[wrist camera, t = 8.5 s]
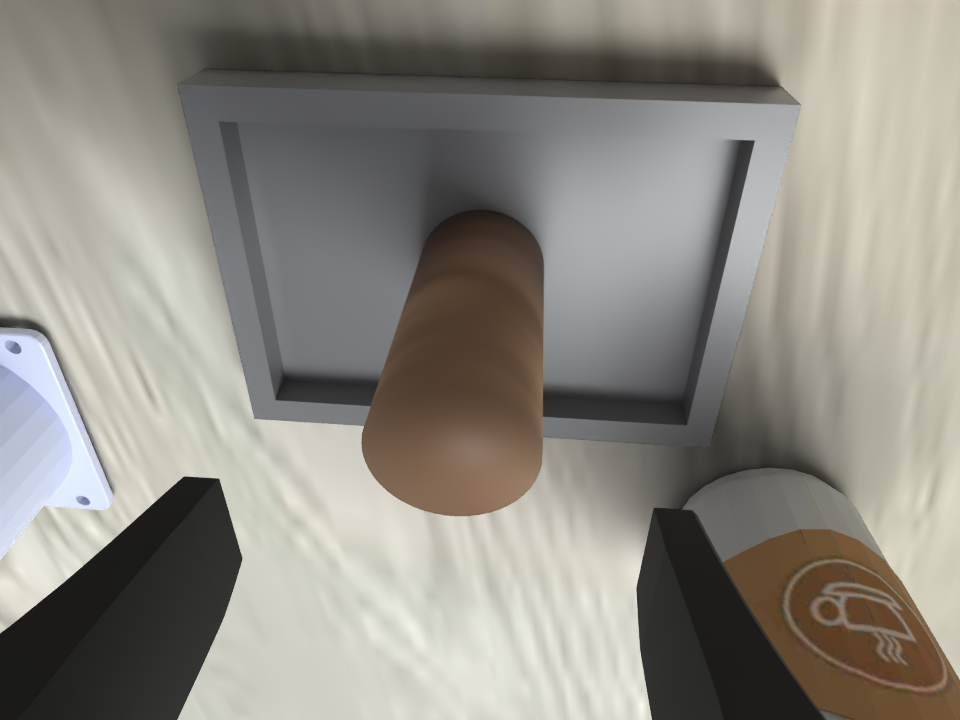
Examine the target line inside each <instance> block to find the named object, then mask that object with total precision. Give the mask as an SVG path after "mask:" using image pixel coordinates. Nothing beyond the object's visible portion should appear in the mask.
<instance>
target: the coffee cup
mask: <svg viewBox="0 0 960 720" xmlns="http://www.w3.org/2000/svg"><path fill="white" fill-rule="evenodd" d="M681 510H693V511H694V512H695V513H696V515H697V516H698V517H699V519H700V521H701V523H702V525H703V527H704V529H705V531H706V533H707V535H708V537H709V539H710V540H711V542H712V544H713V546H714V548H715V550H716V552H717V553H718V555H719V557H720V559H721V560H722V562H723V564H724V566H725V568H726V569H727V571H728V573H729V574H730V576H731V578H732V580H733V581H734V583H735V585H736V586H737V588H738V590H739V591H740V593H741V595H742V596H743V598H744V600H745V601H746V603H747V605H748V606H749V608H750V609H751V611H752V612H753V614H754V616H755V617H756V619H757V620H758V622H759V623H760V625H761V627H762V628H763V630H764V631H765V633H766V634H767V636H768V637H769V639H770V641H771V642H772V644H773V645H774V647H775V648H776V650H777V651H778V653H779V654H780V655H781V657H782V658H783V660H784V661H785V663H786V664H787V666H788V667H789V669H790V670H791V671H792V673H793V674H794V676H795V677H796V678H797V680H798V681H799V683H800V684H801V685H802V687H803V688H804V690H805V691H806V693H807V694H808V695H809V697H810V698H811V699H812V701H813V702H814V703H815V705H816V706H817V707H818V709H819V710H820V712H821V713H822V714H823V716H824V717H825V718H826V719H827V720H960V680H959V678H958V676H957V674H956V673H955V671H954V669H953V668H952V666H951V664H950V663H949V661H948V659H947V658H946V656H945V654H944V652H943V651H942V649H941V647H940V646H939V644H938V642H937V641H936V639H935V637H934V636H933V634H932V632H931V630H930V629H929V627H928V625H927V624H926V622H925V620H924V619H923V617H922V615H921V613H920V612H919V610H918V608H917V607H916V605H915V603H914V602H913V600H912V598H911V597H910V595H909V593H908V591H907V590H906V588H905V586H904V585H903V583H902V582H901V580H900V579H899V578H898V576H897V575H896V574H895V573H894V571H893V570H892V569H891V568H890V566H889V564H888V563H887V561H886V559H885V557H884V556H883V554H882V552H881V551H880V549H879V547H878V545H877V544H876V542H875V540H874V539H873V537H872V535H871V533H870V532H869V530H868V528H867V527H866V525H865V523H864V521H863V520H862V518H861V516H860V514H859V513H858V511H857V509H856V508H855V507H854V506H853V505H852V503H851V502H850V501H849V500H848V499H847V498H846V496H845V495H844V494H842V493H840V492H839V491H837V490H835V489H834V488H832V487H831V486H830V485H828V484H827V483H825V482H823V481H822V480H820V479H818V478H817V477H815V476H813V475H810V474H806V473H803V472H800V471H796V470H793V469H781V468H760V469H750V470H744V471H741V472H737V473H734V474H730V475H726V476H723V477H721V478H719V479H717V480H715V481H713V482H711V483H710V484H708V485H706V486H704V487H703V488H701V489H700V490H699V491H698V492H697V493H695V494H694V495H693V496H692V497H690V498H689V500H688V501H687V502H686V504H685V505H684V507H683V508H682V509H681Z"/></svg>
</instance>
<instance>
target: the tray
mask: <svg viewBox="0 0 960 720" xmlns="http://www.w3.org/2000/svg"><path fill="white" fill-rule="evenodd" d="M178 89H179V93H180V98H181V102H182V106H183V111H184V115H185V119H186V124H187V128H188V132H189V137H190V141H191V145H192V150H193V154H194V158H195V163H196V167H197V171H198V176H199V180H200V184H201V189H202V193H203V197H204V202H205V206H206V210H207V215H208V219H209V223H210V228H211V232H212V236H213V241H214V245H215V249H216V254H217V258H218V262H219V267H220V271H221V275H222V280H223V284H224V288H225V293H226V297H227V301H228V306H229V310H230V315H231V319H232V323H233V328H234V332H235V336H236V341H237V345H238V349H239V354H240V358H241V362H242V367H243V371H244V375H245V380H246V384H247V388H248V393H249V397H250V401H251V406H252V410H253V414H254V419H265V420H281V421H297V422H313V423H328V424H344V425H360V426H364V425H365V422H366V419H367V416H368V413H369V410H370V407H371V404H372V401H373V398H374V395H375V392H376V389H377V386H378V383H379V380H380V377H381V374H382V371H383V368H384V365H385V362H386V359H387V356H388V353H389V350H390V347H391V344H392V341H393V338H394V335H395V332H396V329H397V326H398V323H399V320H400V317H401V314H402V311H403V308H404V305H405V302H406V299H407V296H408V293H409V290H410V287H411V284H412V281H413V278H414V275H415V272H416V269H417V266H418V263H419V260H420V256H421V253H422V250H423V247H424V245H425V243H426V240H427V239H428V237H429V235H430V234H431V232H432V231H433V230H434V229H435V228H436V227H437V226H438V225H439V224H440V223H441V222H443V221H444V220H446V219H447V218H449V217H451V216H453V215H455V214H458V213H461V212H465V211H470V210H490V211H496V212H499V213H503V214H505V215H508V216H510V217H512V218H514V219H515V220H517V221H519V222H520V223H521V224H523V225H524V226H525V227H526V228H527V229H528V230H529V231H530V232H531V233H532V235H533V236H534V237H535V239H536V240H537V242H538V244H539V246H540V249H541V251H542V255H543V259H544V338H543V437H549V438H564V439H580V440H596V441H612V442H627V443H643V444H659V445H675V446H690V447H706V448H709V447H710V443H711V440H712V436H713V432H714V429H715V425H716V421H717V417H718V414H719V410H720V406H721V402H722V399H723V395H724V391H725V388H726V384H727V380H728V376H729V373H730V369H731V365H732V361H733V358H734V354H735V350H736V347H737V343H738V339H739V335H740V332H741V328H742V324H743V321H744V317H745V313H746V309H747V306H748V302H749V298H750V294H751V291H752V287H753V283H754V280H755V276H756V272H757V268H758V265H759V261H760V257H761V253H762V250H763V246H764V242H765V239H766V235H767V231H768V227H769V224H770V220H771V216H772V213H773V209H774V205H775V201H776V198H777V194H778V190H779V186H780V183H781V179H782V175H783V172H784V168H785V164H786V160H787V157H788V153H789V149H790V145H791V142H792V138H793V134H794V131H795V127H796V123H797V119H798V116H799V112H800V108H801V104H800V103H799V102H798V101H796V100H795V99H794V98H793V97H792V96H791V95H790V94H789V93H788V92H787V91H786V90H785V89H784V88H783V87H780V86H747V85H715V84H683V83H650V82H618V81H585V80H553V79H520V78H488V77H456V76H423V75H391V74H358V73H326V72H293V71H261V70H229V69H205V70H203V71H201V72H199V73H198V74H196V75H194V76H192V77H190V78H189V79H187V80H185V81H183V82H182V83H180V84H178Z"/></svg>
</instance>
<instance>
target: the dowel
mask: <svg viewBox="0 0 960 720" xmlns="http://www.w3.org/2000/svg"><path fill="white" fill-rule="evenodd" d="M543 338H544V259H543V255H542V251H541V249H540V246H539V244H538V242H537V240H536V239H535V237H534V236H533V235H532V233H531V232H530V231H529V230H528V229H527V228H526V227H525V226H524V225H523V224H521V223H520V222H519V221H517V220H515V219H514V218H512V217H510V216H508V215H505V214H503V213H499V212H496V211H490V210H470V211H465V212H461V213H458V214H455V215H453V216H451V217H449V218H447V219H446V220H444V221H443V222H441V223H440V224H439V225H438V226H437V227H436V228H435V229H434V230H433V231H432V232H431V234H430V235H429V237H428V239H427V240H426V243H425V245H424V247H423V250H422V253H421V256H420V260H419V263H418V266H417V269H416V272H415V275H414V278H413V281H412V284H411V287H410V290H409V293H408V296H407V299H406V302H405V305H404V308H403V311H402V314H401V317H400V320H399V323H398V326H397V329H396V332H395V335H394V338H393V341H392V344H391V347H390V350H389V353H388V356H387V359H386V362H385V365H384V368H383V371H382V374H381V377H380V380H379V383H378V386H377V389H376V392H375V395H374V398H373V401H372V404H371V407H370V410H369V413H368V416H367V419H366V422H365V425H364V429H363V433H362V452H363V455H364V459H365V462H366V464H367V466H368V468H369V470H370V471H371V473H372V475H373V476H374V477H375V479H376V480H377V481H378V482H379V483H380V485H382V486H383V487H384V488H385V489H386V490H387V491H388V492H389V493H391V494H392V495H393V496H395V497H396V498H398V499H400V500H401V501H403V502H405V503H407V504H409V505H411V506H413V507H416V508H418V509H421V510H424V511H428V512H431V513H435V514H441V515H449V516H472V515H480V514H485V513H489V512H493V511H496V510H499V509H501V508H503V507H506V506H508V505H510V504H511V503H513V502H515V501H516V500H518V499H519V498H520V497H521V496H523V495H524V494H525V493H526V492H527V491H528V490H529V489H530V487H531V486H532V485H533V483H534V482H535V480H536V478H537V476H538V474H539V471H540V468H541V464H542V443H543Z"/></svg>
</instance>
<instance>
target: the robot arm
mask: <svg viewBox="0 0 960 720" xmlns="http://www.w3.org/2000/svg"><path fill="white" fill-rule="evenodd" d="M14 341H15V342H16V343H18V344H19V345H20V346H19V345H17V344H16V343H15V342H14ZM113 500H114V497H113V494H112V491H111V489H110V487H109V484H108V482H107V479H106V477H105V475H104V472H103V470H102V467H101V465H100V463H99V460H98V458H97V455H96V453H95V451H94V448H93V446H92V444H91V441H90V439H89V436H88V434H87V432H86V429H85V427H84V424H83V422H82V420H81V417H80V415H79V412H78V410H77V408H76V405H75V403H74V400H73V398H72V396H71V393H70V391H69V388H68V386H67V384H66V381H65V379H64V376H63V374H62V372H61V369H60V367H59V364H58V362H57V360H56V357H55V355H54V353H53V350H52V348H51V345H50V343H49V341H48V340H47V338H46V337H45V336H44V335H43V334H42V333H40V332H38V331H36V330H32V329H21V328H3V327H0V560H1V558H2V557H3V556H4V555H5V553H6V552H7V551H8V550H9V548H10V547H11V546H12V545H13V543H14V542H15V541H16V540H17V538H18V537H19V536H20V535H21V534H22V532H23V531H24V530H25V529H26V527H27V526H28V525H29V524H30V522H31V521H32V520H33V519H34V517H35V516H36V515H37V514H38V512H39V511H40V510H41V509H42V507H43V506H54V507H68V508H82V509H95V510H104V509H107V508H108V507H109V506H110V504H111V503H112V502H113ZM241 562H242V555H241V552H240V549H239V545H238V542H237V538H236V535H235V531H234V528H233V525H232V521H231V518H230V514H229V511H228V507H227V504H226V501H225V497H224V494H223V490H222V487H221V483H220V480H219V479H214V478H199V477H183V478H182V479H181V480H180V481H178V482H177V483H176V484H175V485H174V486H173V487H172V488H170V489H169V490H168V491H167V492H166V493H165V494H164V495H163V496H161V497H160V498H159V499H158V500H157V501H156V502H155V503H154V504H152V505H151V506H150V507H149V508H148V509H147V510H146V511H145V512H144V513H143V514H141V515H140V516H139V517H138V518H137V519H136V520H135V521H134V522H133V523H131V524H130V525H129V526H128V527H127V528H126V529H125V530H124V531H123V532H121V533H120V534H119V535H118V536H117V537H116V538H115V539H114V540H112V541H111V542H110V543H109V544H108V545H107V546H106V547H104V548H103V549H102V550H101V551H100V552H99V553H98V554H96V555H95V556H94V557H93V558H92V559H91V560H90V561H88V562H87V563H86V564H85V565H84V566H83V567H82V568H80V569H79V570H78V571H77V572H76V573H75V574H73V575H72V576H71V577H70V578H69V579H68V580H66V581H65V582H64V583H63V584H62V585H60V586H59V587H58V588H57V589H55V590H54V591H53V592H52V593H51V594H49V595H48V596H47V597H46V598H44V599H43V600H42V601H41V602H39V603H38V604H37V605H36V606H34V607H33V608H32V609H31V610H30V611H28V612H27V613H26V614H25V615H23V616H22V617H21V618H20V619H18V620H17V621H16V622H15V623H14V624H12V625H11V626H10V627H8V628H7V629H6V630H4V631H3V632H2V633H0V720H177V719H178V717H179V715H180V713H181V710H182V708H183V706H184V704H185V702H186V700H187V697H188V695H189V693H190V691H191V689H192V687H193V684H194V682H195V680H196V678H197V676H198V674H199V672H200V669H201V667H202V665H203V663H204V661H205V658H206V656H207V654H208V652H209V650H210V647H211V645H212V643H213V641H214V639H215V636H216V634H217V632H218V630H219V627H220V625H221V623H222V621H223V618H224V616H225V613H226V610H227V607H228V604H229V601H230V598H231V595H232V592H233V589H234V585H235V582H236V579H237V575H238V572H239V569H240V566H241ZM637 606H638V624H639V638H640V651H641V657H642V663H643V669H644V675H645V681H646V687H647V693H648V699H649V705H650V710H651V716H652V720H827V719H826V718H825V717H824V716H823V714H822V713H821V712H820V710H819V709H818V707H817V706H816V705H815V703H814V702H813V701H812V699H811V698H810V697H809V695H808V694H807V693H806V691H805V690H804V688H803V687H802V685H801V684H800V683H799V681H798V680H797V678H796V677H795V676H794V674H793V673H792V671H791V670H790V669H789V667H788V666H787V664H786V663H785V661H784V660H783V658H782V657H781V655H780V654H779V653H778V651H777V650H776V648H775V647H774V645H773V644H772V642H771V641H770V639H769V637H768V636H767V634H766V633H765V631H764V630H763V628H762V627H761V625H760V623H759V622H758V620H757V619H756V617H755V616H754V614H753V612H752V611H751V609H750V608H749V606H748V605H747V603H746V601H745V600H744V598H743V596H742V595H741V593H740V591H739V590H738V588H737V586H736V585H735V583H734V581H733V580H732V578H731V576H730V574H729V573H728V571H727V569H726V568H725V566H724V564H723V562H722V560H721V559H720V557H719V555H718V553H717V552H716V550H715V548H714V546H713V544H712V542H711V540H710V539H709V537H708V535H707V533H706V531H705V529H704V527H703V525H702V523H701V521H700V519H699V517H698V516H697V515H696V513H695V512H694V511H693V510H681V509H666V508H654V509H653V514H652V519H651V523H650V528H649V533H648V537H647V542H646V546H645V551H644V556H643V560H642V565H641V569H640V574H639V579H638V583H637Z"/></svg>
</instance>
